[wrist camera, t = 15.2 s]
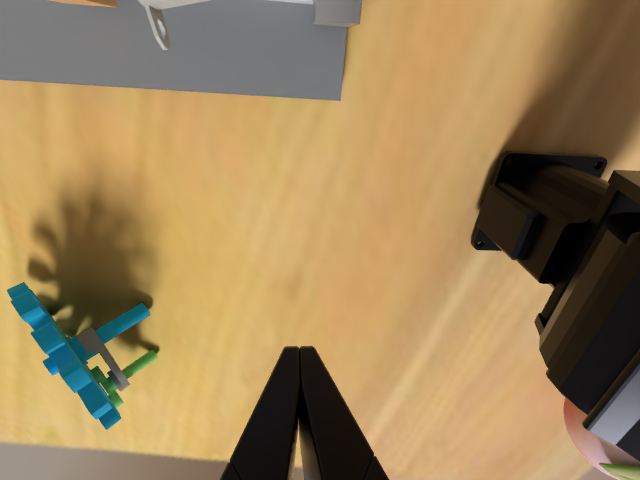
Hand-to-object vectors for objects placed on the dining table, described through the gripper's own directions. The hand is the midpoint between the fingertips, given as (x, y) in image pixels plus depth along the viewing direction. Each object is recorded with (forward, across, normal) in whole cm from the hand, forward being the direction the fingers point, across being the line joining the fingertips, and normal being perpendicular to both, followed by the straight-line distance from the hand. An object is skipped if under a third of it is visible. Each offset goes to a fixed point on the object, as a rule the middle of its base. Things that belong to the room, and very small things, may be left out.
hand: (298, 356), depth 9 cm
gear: (+12, +13, +10) cm, 21 cm away
